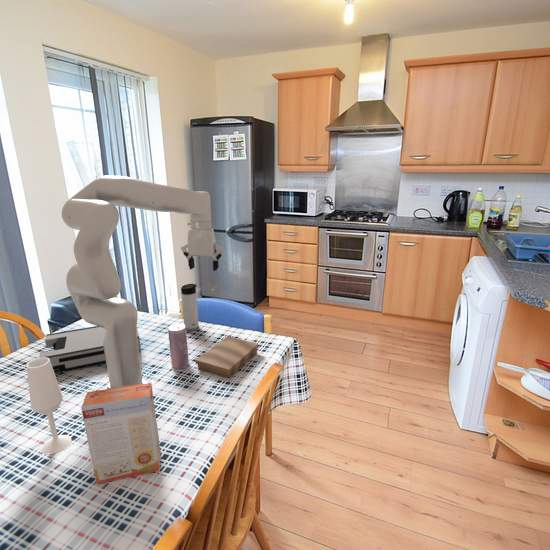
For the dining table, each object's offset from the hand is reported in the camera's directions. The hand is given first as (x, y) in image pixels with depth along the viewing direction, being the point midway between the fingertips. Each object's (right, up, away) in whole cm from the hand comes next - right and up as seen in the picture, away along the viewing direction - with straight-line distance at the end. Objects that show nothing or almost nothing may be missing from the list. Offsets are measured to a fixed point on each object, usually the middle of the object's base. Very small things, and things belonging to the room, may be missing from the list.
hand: (203, 269), depth 140 cm
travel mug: (-9, -26, +19) cm, 33 cm away
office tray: (-41, -33, -2) cm, 53 cm away
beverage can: (-6, -35, -10) cm, 37 cm away
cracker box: (-7, -48, -54) cm, 73 cm away
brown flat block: (+11, -34, -8) cm, 36 cm away
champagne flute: (-29, -46, -46) cm, 72 cm away
